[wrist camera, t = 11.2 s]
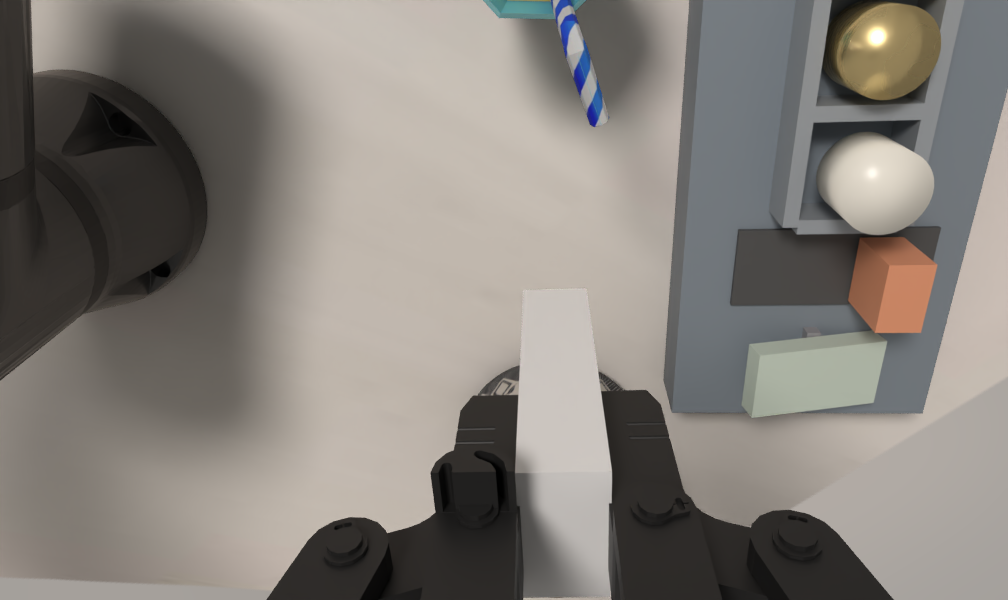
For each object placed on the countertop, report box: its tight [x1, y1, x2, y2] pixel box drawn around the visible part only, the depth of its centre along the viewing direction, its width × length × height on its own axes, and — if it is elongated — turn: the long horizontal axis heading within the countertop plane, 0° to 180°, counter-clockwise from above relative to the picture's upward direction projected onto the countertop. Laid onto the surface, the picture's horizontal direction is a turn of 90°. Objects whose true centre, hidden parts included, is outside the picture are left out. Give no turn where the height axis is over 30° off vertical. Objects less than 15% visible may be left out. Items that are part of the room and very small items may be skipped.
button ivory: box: [816, 132, 934, 235], centre depth 35 cm, size 4×4×4 cm
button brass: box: [822, 0, 941, 100], centre depth 34 cm, size 4×4×4 cm
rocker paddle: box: [742, 330, 887, 418], centre depth 44 cm, size 8×4×1 cm, turn 92°
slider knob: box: [848, 237, 937, 333], centre depth 40 cm, size 2×4×4 cm, turn 2°
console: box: [664, 0, 1008, 413], centre depth 41 cm, size 16×28×7 cm, turn 2°
